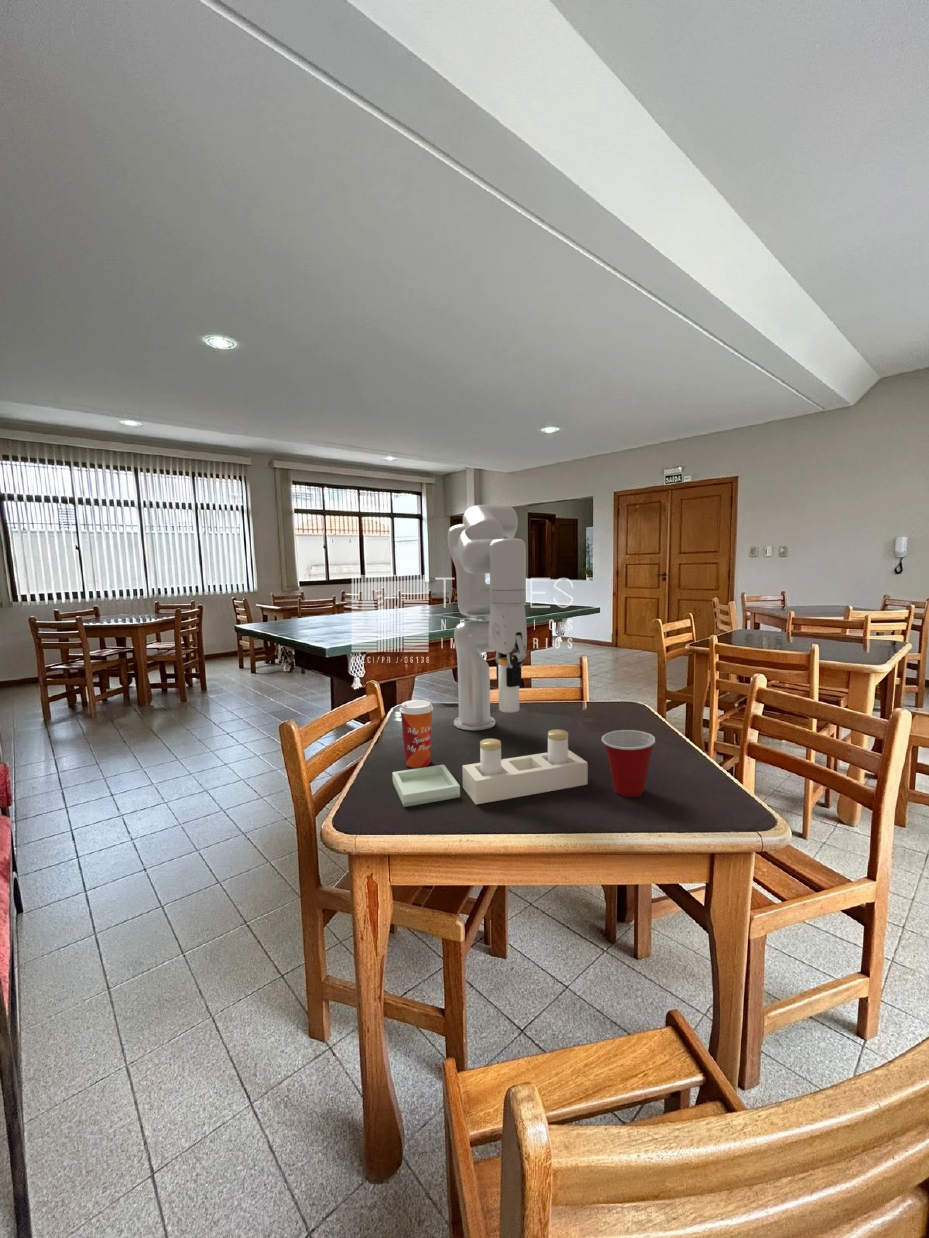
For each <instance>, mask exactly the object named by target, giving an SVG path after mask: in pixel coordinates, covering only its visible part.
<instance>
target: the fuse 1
mask: <svg viewBox="0 0 929 1238" xmlns="http://www.w3.org/2000/svg"><path fill="white" fill-rule="evenodd" d="M479 749H480V753H479V756H480V757H479V760H480V761H479V763H480V766H481V775H482V776H483V777H484V776H490V775H496V774H501V759H502V741H501V740H500V739H497V738H483V739H482V740H480V741H479Z"/></svg>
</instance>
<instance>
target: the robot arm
mask: <svg viewBox="0 0 929 1238" xmlns="http://www.w3.org/2000/svg"><path fill="white" fill-rule="evenodd" d="M518 525H519V520H518V514H517V512H516V510H515V509H514V508H513V507H512V506H511V505H508V504H476V505H472V506H469V507H468V508H467V509H466V510H465V512H464V514H463V516H462V523H459V524H455V525H452V526H451V527H450V528H449V529H448V531H447V532H448V533H447V545H448V551H449V554H450V557H451V559H452V562H453V564H454V567H455V573H456V574H455V575H456V593H457V594H456V596H457V597H456V598H457V606H458V607H457V608H458V610H459V611H458V612H459V613H460V614H461V615H463V616H467V617H468V616H469V617H483V616H484V617H485V616H487V617H488V616H489V619H486V620H485V619H482V620H481V619H479V620H478V619H477V620H467V621H462V622H460V623H458V624H457V625H456V626H455V628H454V631H453V639H454V644H455V651H456V658H457V659H456V661H457V683H458V685H457V686H458V688H457V690H458V695H457V696H458V716H457V717H456V718H455V719H454V720H453V726H454V727H456V728H457V729H460V730H464V731H483V730H488V729H491V728H493V727H494V726H495V725H496V719H495V718H494V717H492V716H491V687H490V686H491V685H490V684H491V683H490V679H491V678H490V677H491V676H490V667H489V663H488V662H487V660H486V659H485V658H484V657H483V656H482V655H481V654H483V653H489V652H490V653H494V654H495V662H496V664H495V665H496V671H495V673H496V681H497V682H498V683H499V677H498V659H499V658H502V657H507V661H508V668H506V685H507V686H508V687H515V686H519V687H520V686H521V685H522V667H523V662H524V660H525V659H526V657H527V654H526V652H527V645H528V642H527V641H528V634H527V633H528V630H527V618H526V617H527V616H526V609H525V608H526V607H525V606H526V605H527V547H526V543H525V541H524V540H523V539H521V538H517V537H515V536H516V533H517V529H518ZM514 537H515V538H514ZM486 574H489V583H486ZM513 651H516V652H513ZM512 657H514V658H513V660H512Z"/></svg>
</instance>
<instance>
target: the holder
mask: <svg viewBox="0 0 929 1238" xmlns="http://www.w3.org/2000/svg"><path fill="white" fill-rule="evenodd" d="M588 763H589V762H587V761H586V760H585V759H583V758H582V757H580V756H579V755H577V754H575V753H574V752H573V751H571V750H570V749H568V763H564V764H558V765H552V764H550V763H549V762H548V751H547V752H542V753H541V752H540V753H535V754H528V755H521V756H516V757H514V756H513V757H508V758H503V759H502V758H501V774H496V775H490V776H484V777H483V776H482V775H481V766H480V762H475V763H469V764H463V765H462V788H463V789H464V791H465V792H466V793H467V795H468V796H469V798H470V799H471V800H472V802H473V803H474V804H475V805H480V804H486V803H492V802H497V801H503V800H510V799H513V798H520V797H524V796H531V795H536V794H542V793H547V792H551V791H552V792H553V791H558V790H564V789H570V788H576V787H581V786H587V785H588V775H589V774H588V771H589V769H588Z"/></svg>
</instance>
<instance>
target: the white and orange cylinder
mask: <svg viewBox="0 0 929 1238" xmlns="http://www.w3.org/2000/svg"><path fill="white" fill-rule="evenodd" d="M514 657H515V656H512V660H513V658H514ZM506 668H508V661H507V657H502V658H499V659H498V677H499V682H498V711H500V712H503V713H516V712H519V711H520V686H515V687H508V686H507V685H506Z"/></svg>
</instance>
